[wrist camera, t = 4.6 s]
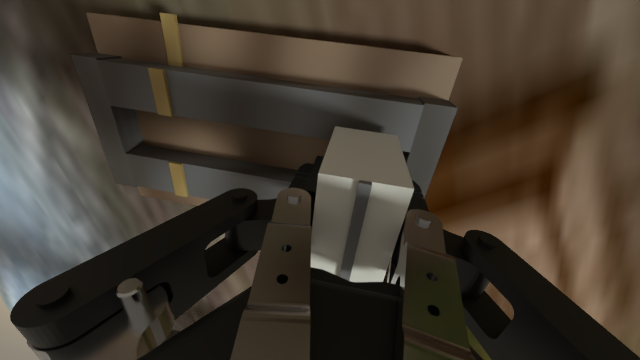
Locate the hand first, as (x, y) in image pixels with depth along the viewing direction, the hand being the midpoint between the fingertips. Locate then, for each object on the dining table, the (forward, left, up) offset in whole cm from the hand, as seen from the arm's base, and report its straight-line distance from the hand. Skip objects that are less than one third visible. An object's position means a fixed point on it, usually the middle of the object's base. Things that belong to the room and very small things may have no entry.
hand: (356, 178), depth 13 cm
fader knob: (0, 0, -2) cm, 2 cm away
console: (+6, 0, -5) cm, 8 cm away
